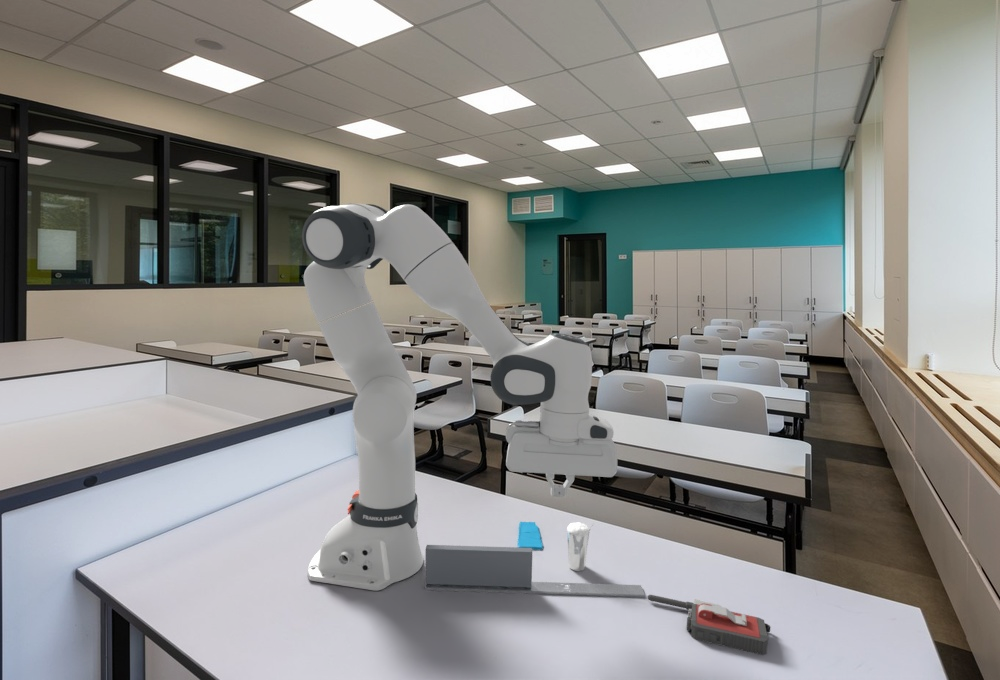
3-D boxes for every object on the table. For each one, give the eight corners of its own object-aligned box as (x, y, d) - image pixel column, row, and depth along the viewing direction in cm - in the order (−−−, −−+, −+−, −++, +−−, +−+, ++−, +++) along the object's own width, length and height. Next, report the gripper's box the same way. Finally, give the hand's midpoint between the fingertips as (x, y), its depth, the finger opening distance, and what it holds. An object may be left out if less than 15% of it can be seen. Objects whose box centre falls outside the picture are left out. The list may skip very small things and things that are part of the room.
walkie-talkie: (767, 626, 90) (647, 600, 97) (769, 602, 90) (649, 578, 97) (775, 661, 82) (643, 629, 89) (777, 635, 82) (645, 605, 88)
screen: (425, 583, 99) (425, 548, 98) (426, 579, 100) (426, 544, 100) (531, 587, 98) (532, 552, 98) (531, 582, 100) (532, 547, 99)
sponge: (543, 522, 125) (519, 519, 125) (544, 548, 113) (517, 544, 114) (542, 528, 125) (518, 525, 126) (543, 555, 113) (516, 550, 114)
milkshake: (591, 575, 104) (593, 527, 103) (564, 571, 105) (566, 524, 104) (592, 562, 109) (594, 517, 107) (566, 559, 110) (568, 514, 109)
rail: (424, 590, 98) (424, 587, 98) (427, 580, 101) (427, 578, 101) (644, 597, 97) (644, 594, 97) (640, 587, 100) (640, 585, 100)
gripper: (506, 424, 92) (502, 499, 94) (622, 431, 92) (616, 506, 94) (506, 415, 99) (502, 485, 100) (615, 421, 98) (609, 491, 100)
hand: (558, 495), depth 97 cm, fingers closed
